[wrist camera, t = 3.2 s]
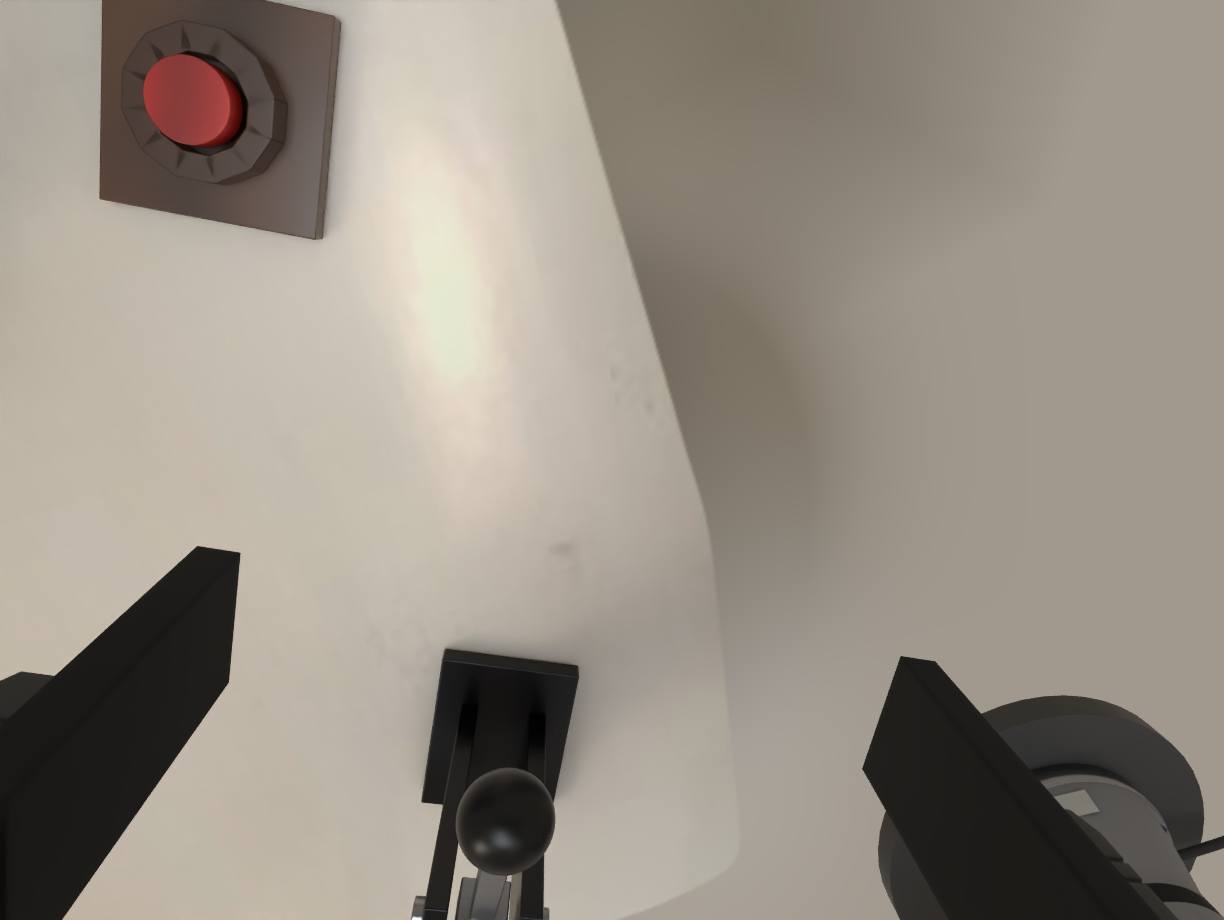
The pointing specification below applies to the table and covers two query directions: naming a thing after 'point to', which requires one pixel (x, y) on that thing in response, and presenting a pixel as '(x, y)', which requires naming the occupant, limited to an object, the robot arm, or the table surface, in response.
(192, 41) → the control block
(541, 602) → the table surface
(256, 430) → the table surface
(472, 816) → the switch lever
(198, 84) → the button
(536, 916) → the switch bracket
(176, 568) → the robot arm
